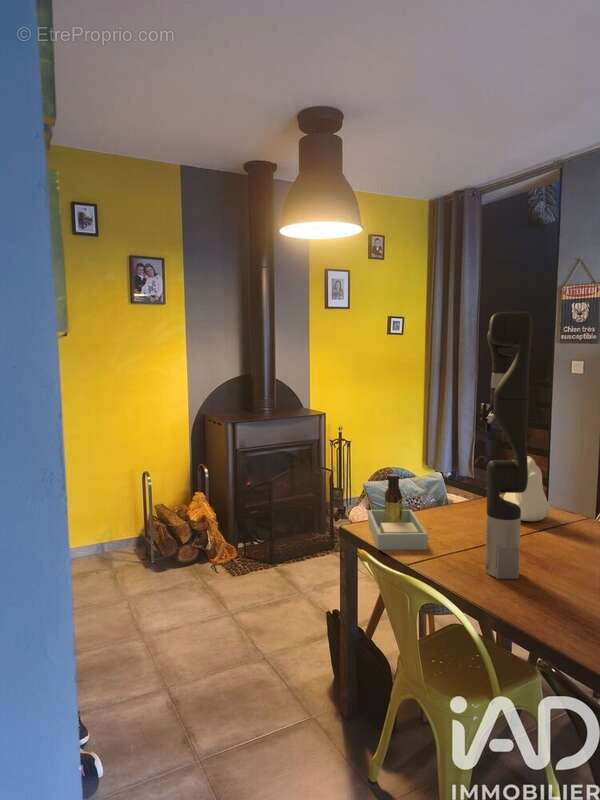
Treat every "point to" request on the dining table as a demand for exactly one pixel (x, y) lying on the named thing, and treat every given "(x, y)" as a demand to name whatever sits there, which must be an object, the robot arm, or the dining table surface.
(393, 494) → the sauce bottle
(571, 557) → the dining table surface
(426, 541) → the tote
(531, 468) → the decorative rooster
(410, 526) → the tan rectangular block
